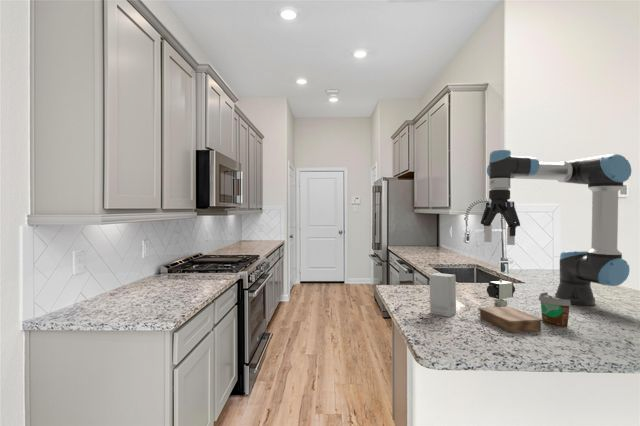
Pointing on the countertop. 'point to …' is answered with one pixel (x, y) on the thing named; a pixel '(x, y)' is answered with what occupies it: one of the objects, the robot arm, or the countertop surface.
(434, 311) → the skincare box
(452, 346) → the countertop surface
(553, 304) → the food container
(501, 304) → the pneumatic valve
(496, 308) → the stand
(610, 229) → the robot arm
